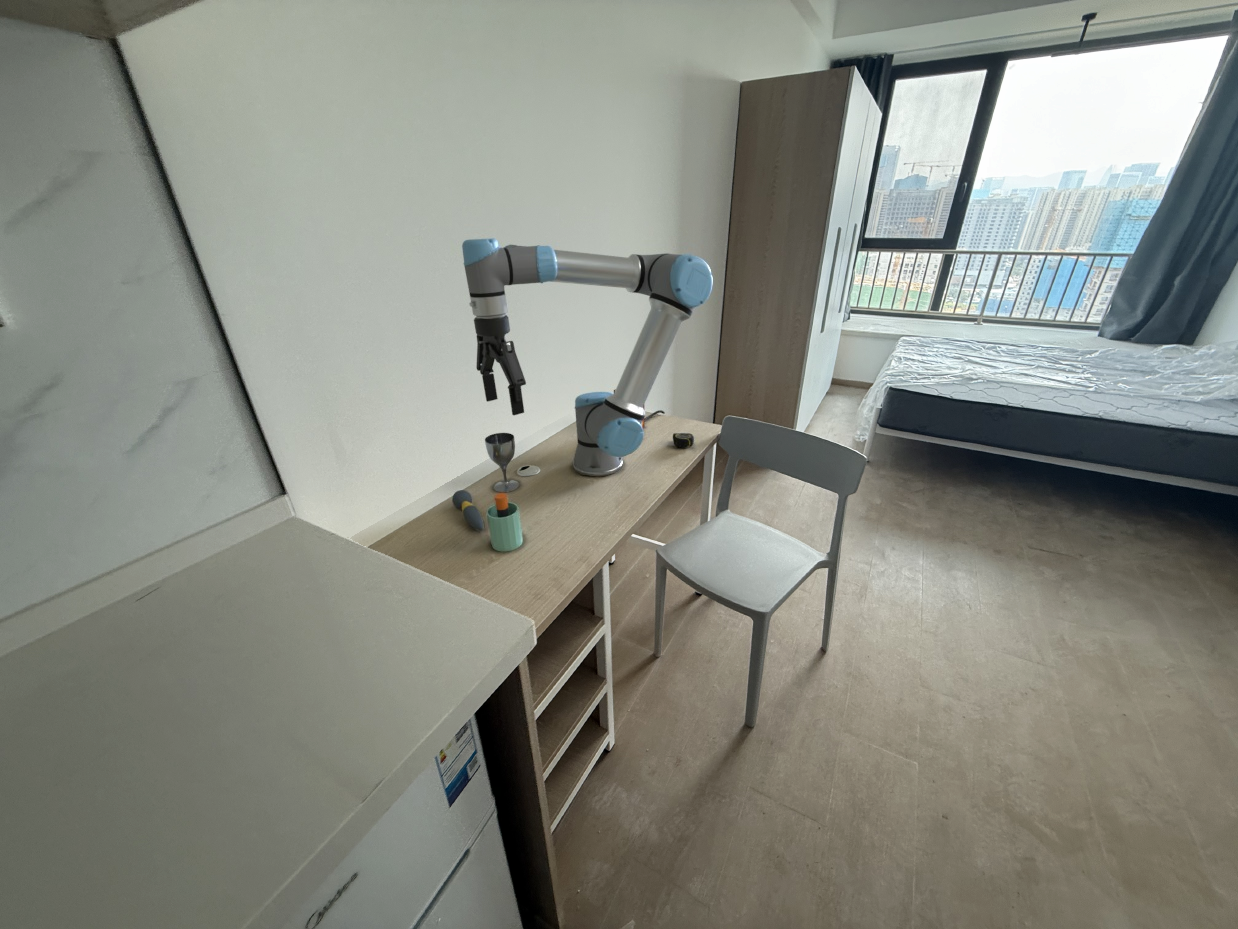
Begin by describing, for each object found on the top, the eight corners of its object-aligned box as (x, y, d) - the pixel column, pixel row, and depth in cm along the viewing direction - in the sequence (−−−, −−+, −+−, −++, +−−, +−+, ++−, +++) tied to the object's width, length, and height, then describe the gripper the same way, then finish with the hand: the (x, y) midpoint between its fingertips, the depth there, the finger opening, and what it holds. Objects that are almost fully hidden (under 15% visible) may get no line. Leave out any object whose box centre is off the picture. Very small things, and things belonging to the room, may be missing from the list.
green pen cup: (514, 530, 119) (510, 498, 115) (528, 543, 114) (524, 511, 110) (486, 541, 115) (481, 508, 111) (499, 555, 110) (494, 522, 106)
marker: (509, 535, 116) (503, 491, 110) (514, 540, 114) (508, 496, 108) (499, 539, 114) (492, 495, 109) (504, 544, 112) (497, 499, 107)
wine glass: (525, 482, 141) (519, 435, 135) (509, 495, 135) (502, 445, 128) (503, 477, 144) (496, 431, 138) (486, 489, 138) (478, 441, 131)
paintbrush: (496, 528, 120) (494, 511, 118) (477, 535, 117) (474, 518, 115) (465, 497, 134) (462, 482, 132) (448, 503, 131) (444, 487, 129)
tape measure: (692, 441, 165) (693, 431, 163) (694, 450, 159) (694, 439, 157) (672, 441, 166) (672, 431, 164) (673, 449, 159) (673, 439, 158)
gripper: (452, 312, 114) (468, 398, 123) (501, 325, 96) (515, 424, 106) (482, 307, 118) (495, 391, 127) (534, 319, 100) (545, 415, 110)
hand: (504, 406), depth 116 cm, fingers open, 13 cm apart
